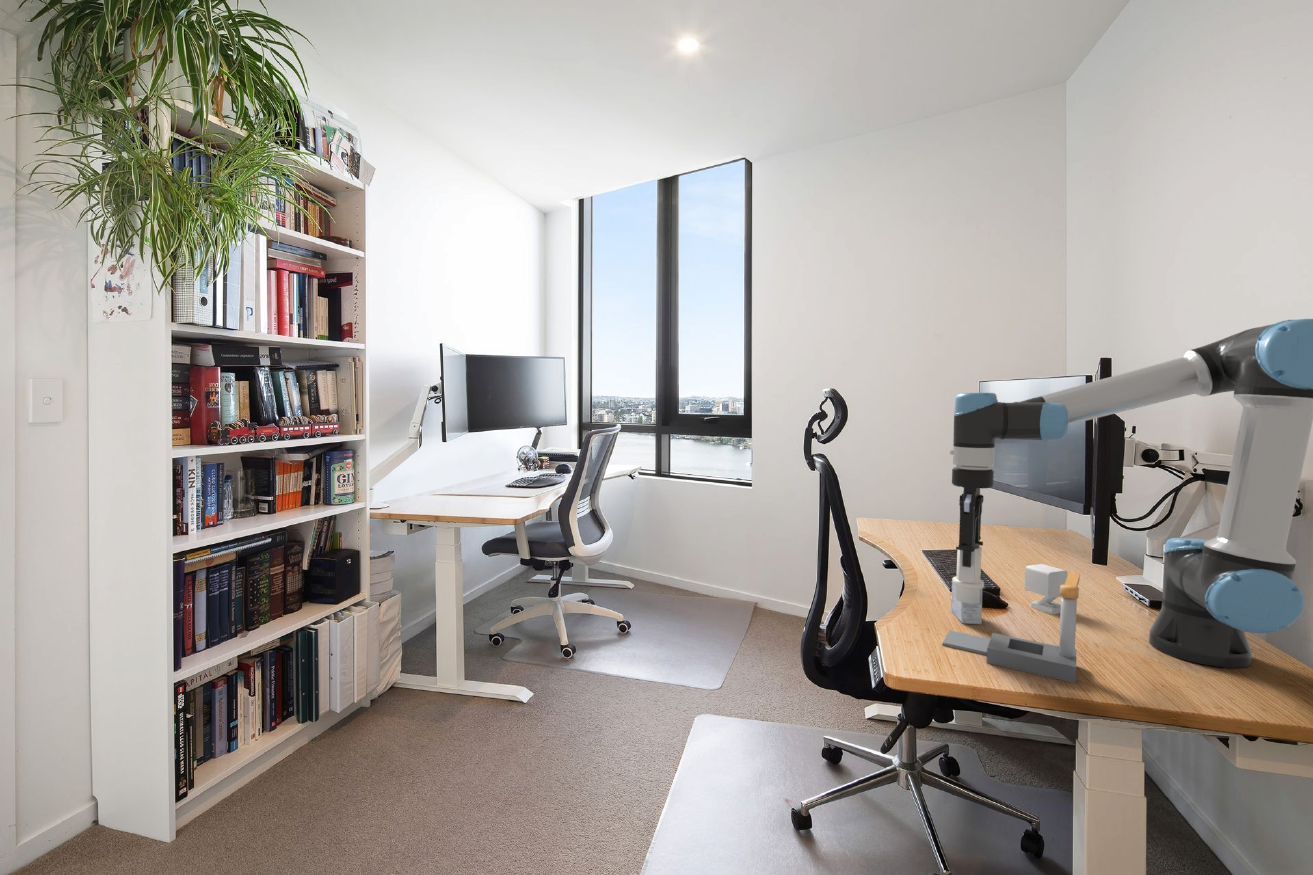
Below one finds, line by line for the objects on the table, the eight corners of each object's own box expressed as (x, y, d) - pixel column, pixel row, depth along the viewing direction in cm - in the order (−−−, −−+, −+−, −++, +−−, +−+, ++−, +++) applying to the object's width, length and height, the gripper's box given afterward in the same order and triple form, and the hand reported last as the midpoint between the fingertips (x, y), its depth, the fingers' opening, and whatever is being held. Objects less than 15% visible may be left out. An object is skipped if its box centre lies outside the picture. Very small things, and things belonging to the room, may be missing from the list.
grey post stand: (1075, 665, 111) (1078, 593, 110) (1075, 683, 104) (1078, 607, 103) (992, 647, 120) (994, 580, 119) (986, 662, 112) (989, 592, 111)
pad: (991, 641, 122) (991, 638, 122) (986, 654, 116) (986, 652, 116) (949, 632, 127) (949, 630, 127) (942, 645, 120) (942, 642, 120)
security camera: (1042, 602, 147) (1043, 563, 146) (1069, 611, 140) (1071, 571, 139) (1023, 605, 145) (1025, 565, 144) (1050, 614, 138) (1052, 573, 137)
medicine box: (982, 625, 131) (983, 587, 131) (960, 623, 132) (961, 586, 132) (970, 612, 139) (971, 577, 139) (950, 611, 140) (951, 576, 140)
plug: (985, 599, 122) (987, 543, 121) (981, 607, 117) (983, 548, 116) (954, 593, 125) (956, 539, 124) (949, 601, 120) (951, 544, 120)
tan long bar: (1077, 608, 106) (1078, 590, 106) (1059, 605, 108) (1059, 587, 108) (1082, 589, 117) (1082, 572, 117) (1065, 586, 119) (1066, 569, 119)
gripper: (959, 462, 128) (955, 566, 130) (944, 469, 114) (940, 585, 116) (998, 465, 124) (994, 571, 125) (988, 472, 110) (983, 593, 111)
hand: (968, 578), depth 121 cm, fingers closed on plug, 4 cm apart
